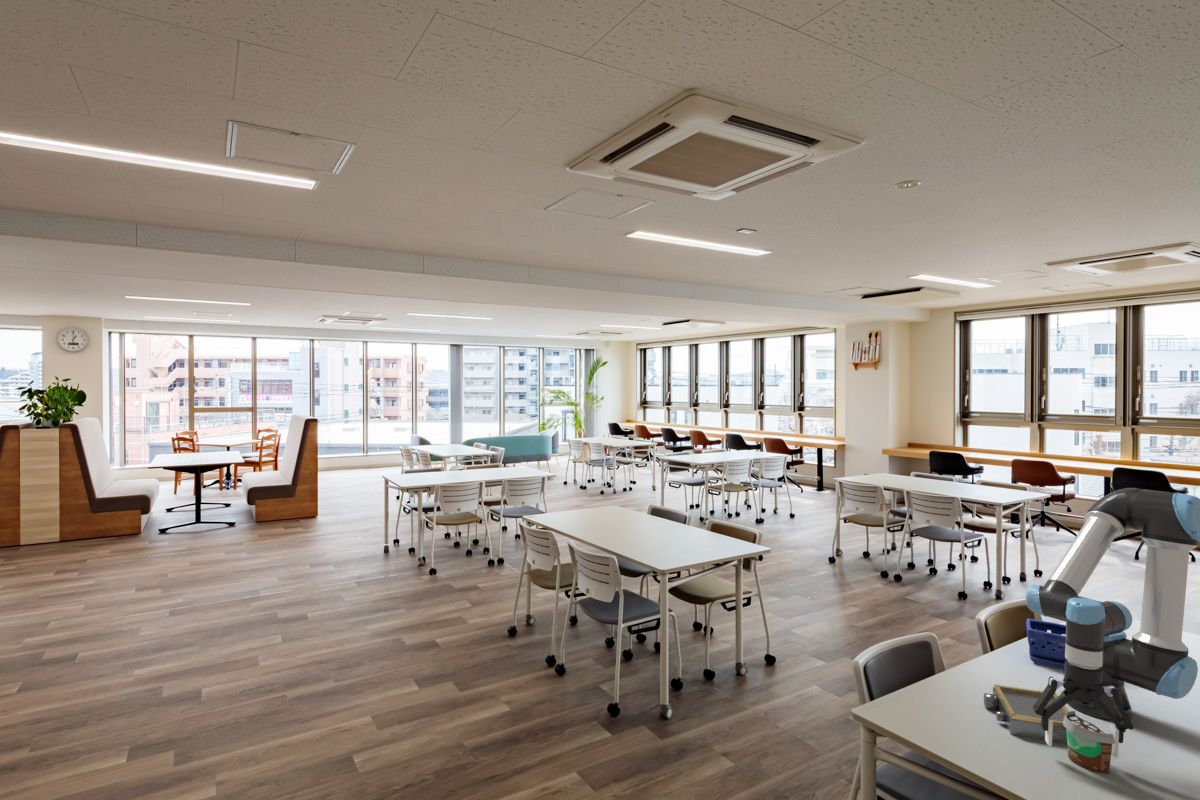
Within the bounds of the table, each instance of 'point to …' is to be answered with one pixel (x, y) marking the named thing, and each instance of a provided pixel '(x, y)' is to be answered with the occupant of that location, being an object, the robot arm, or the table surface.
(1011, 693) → the grey flat box
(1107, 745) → the food container
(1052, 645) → the flower pot
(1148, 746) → the table surface
